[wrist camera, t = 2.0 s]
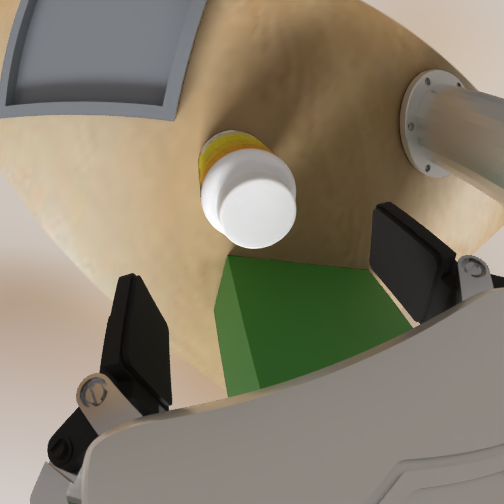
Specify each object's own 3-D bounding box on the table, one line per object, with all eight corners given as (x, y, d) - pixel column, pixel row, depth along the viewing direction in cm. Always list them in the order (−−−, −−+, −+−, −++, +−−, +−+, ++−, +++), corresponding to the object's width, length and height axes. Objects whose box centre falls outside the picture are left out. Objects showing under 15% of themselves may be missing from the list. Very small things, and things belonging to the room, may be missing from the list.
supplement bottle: (184, 152, 21) (179, 201, 12) (244, 116, 20) (284, 139, 12) (220, 204, 24) (239, 278, 16) (275, 171, 23) (326, 228, 15)
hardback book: (368, 270, 32) (479, 434, 13) (343, 313, 36) (426, 469, 16) (227, 255, 27) (302, 534, 7) (213, 310, 31) (259, 535, 11)
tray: (216, -25, 13) (219, -34, 11) (175, 118, 19) (173, 121, 17) (40, -18, 8) (30, -23, 6) (8, 115, 14) (-4, 118, 13)
